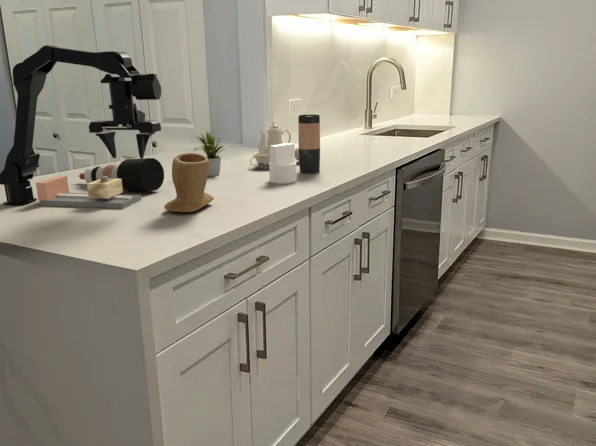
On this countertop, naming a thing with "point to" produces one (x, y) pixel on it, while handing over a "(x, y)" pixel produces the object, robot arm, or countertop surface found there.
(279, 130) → the chinaware
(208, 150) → the house plant
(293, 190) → the countertop surface
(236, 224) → the countertop surface
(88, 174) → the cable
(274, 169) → the base with upright slab
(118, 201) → the track
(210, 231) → the countertop surface
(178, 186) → the stone cup
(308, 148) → the travel mug
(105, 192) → the block
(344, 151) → the countertop surface
